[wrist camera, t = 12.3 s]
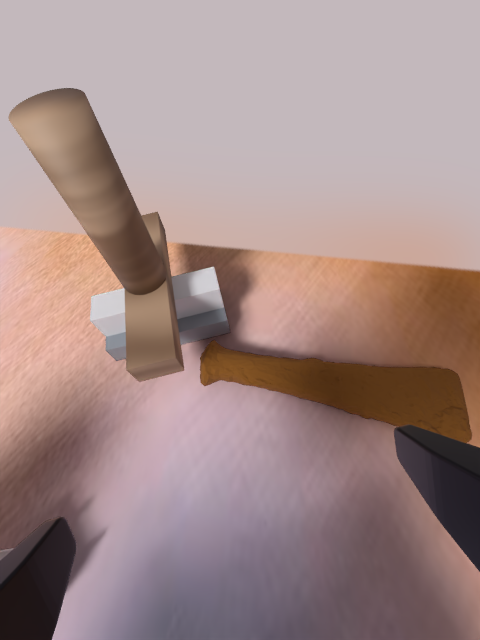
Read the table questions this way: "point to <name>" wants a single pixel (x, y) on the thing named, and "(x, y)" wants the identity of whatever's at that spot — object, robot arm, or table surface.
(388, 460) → the table surface
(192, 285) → the ridge block
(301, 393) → the primitive tool
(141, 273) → the t bar
